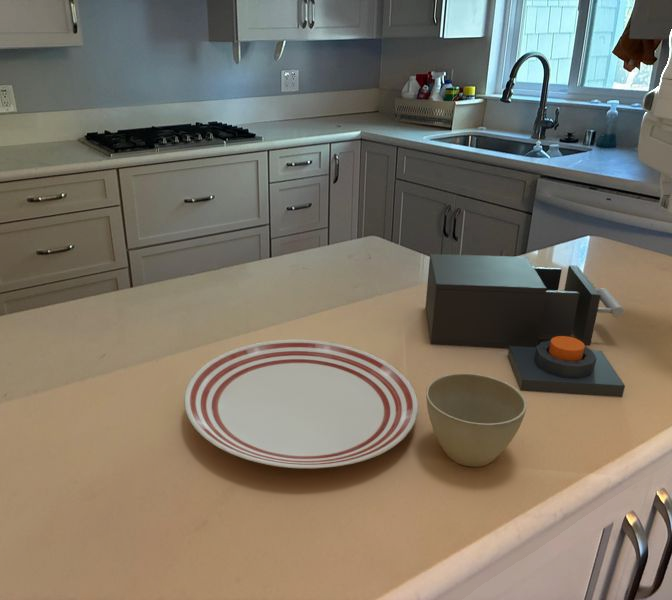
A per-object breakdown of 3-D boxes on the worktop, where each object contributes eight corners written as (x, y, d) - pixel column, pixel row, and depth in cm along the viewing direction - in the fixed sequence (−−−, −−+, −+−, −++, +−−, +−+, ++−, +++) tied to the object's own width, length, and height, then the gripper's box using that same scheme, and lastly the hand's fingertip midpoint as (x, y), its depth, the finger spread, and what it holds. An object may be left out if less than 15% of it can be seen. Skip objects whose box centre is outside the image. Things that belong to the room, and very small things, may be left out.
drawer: (597, 313, 96) (607, 266, 93) (623, 347, 86) (635, 296, 82) (478, 307, 99) (484, 262, 95) (490, 340, 88) (496, 290, 85)
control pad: (599, 361, 84) (604, 338, 83) (622, 397, 76) (628, 372, 74) (507, 356, 86) (510, 334, 84) (520, 390, 78) (524, 366, 76)
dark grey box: (518, 313, 99) (527, 256, 95) (536, 350, 87) (546, 288, 83) (425, 308, 101) (430, 253, 97) (430, 344, 89) (436, 283, 86)
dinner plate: (375, 349, 89) (376, 328, 87) (456, 473, 64) (459, 447, 62) (183, 367, 85) (181, 346, 84) (190, 506, 60) (187, 479, 59)
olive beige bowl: (525, 440, 68) (534, 385, 66) (506, 495, 61) (516, 435, 58) (436, 416, 73) (441, 363, 70) (408, 463, 65) (413, 407, 62)
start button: (577, 348, 81) (579, 336, 80) (586, 363, 77) (588, 351, 77) (545, 346, 82) (547, 335, 81) (552, 361, 78) (555, 349, 77)
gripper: (771, 113, 67) (736, 234, 73) (687, 94, 86) (664, 192, 91) (708, 113, 68) (678, 233, 74) (639, 94, 87) (618, 191, 92)
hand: (670, 210), depth 83 cm, fingers closed
